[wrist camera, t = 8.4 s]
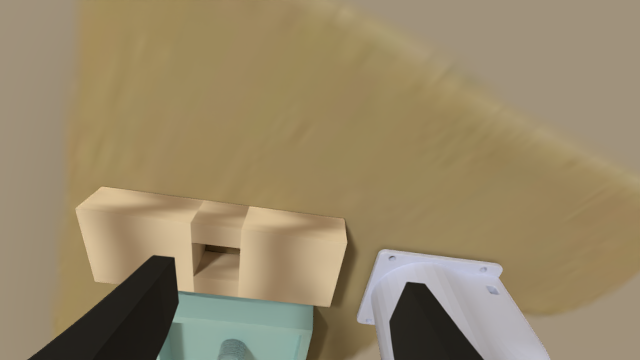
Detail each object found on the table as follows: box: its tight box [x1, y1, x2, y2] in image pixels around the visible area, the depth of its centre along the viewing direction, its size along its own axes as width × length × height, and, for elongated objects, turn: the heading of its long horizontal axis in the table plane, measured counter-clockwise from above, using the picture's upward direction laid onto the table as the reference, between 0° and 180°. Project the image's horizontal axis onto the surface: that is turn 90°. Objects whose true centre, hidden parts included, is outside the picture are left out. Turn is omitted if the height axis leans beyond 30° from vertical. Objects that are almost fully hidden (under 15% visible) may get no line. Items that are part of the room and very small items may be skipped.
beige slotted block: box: [75, 187, 347, 307], centre depth 21 cm, size 16×6×2 cm, turn 81°
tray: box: [156, 291, 313, 360], centre depth 27 cm, size 12×12×2 cm
